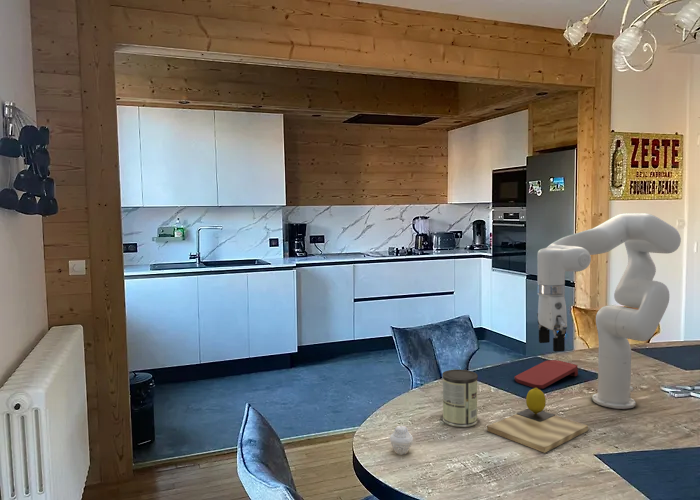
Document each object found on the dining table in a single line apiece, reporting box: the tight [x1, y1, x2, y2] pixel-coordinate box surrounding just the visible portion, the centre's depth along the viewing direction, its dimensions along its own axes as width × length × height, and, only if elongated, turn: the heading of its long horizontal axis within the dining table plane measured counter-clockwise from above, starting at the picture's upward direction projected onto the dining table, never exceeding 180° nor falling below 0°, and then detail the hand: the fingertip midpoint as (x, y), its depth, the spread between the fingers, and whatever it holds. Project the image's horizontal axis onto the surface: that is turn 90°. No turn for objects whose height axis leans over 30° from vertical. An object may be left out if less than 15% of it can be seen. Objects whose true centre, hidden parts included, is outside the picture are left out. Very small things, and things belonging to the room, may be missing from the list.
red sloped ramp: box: [514, 359, 579, 390], centre depth 198 cm, size 12×5×25 cm
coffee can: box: [441, 369, 479, 428], centre depth 159 cm, size 10×10×14 cm
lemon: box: [525, 388, 547, 414], centre depth 159 cm, size 6×6×8 cm
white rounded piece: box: [389, 425, 414, 455], centre depth 139 cm, size 6×6×7 cm
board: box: [486, 407, 589, 454], centre depth 151 cm, size 22×18×2 cm
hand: (551, 346), depth 159 cm, fingers open, 9 cm apart
